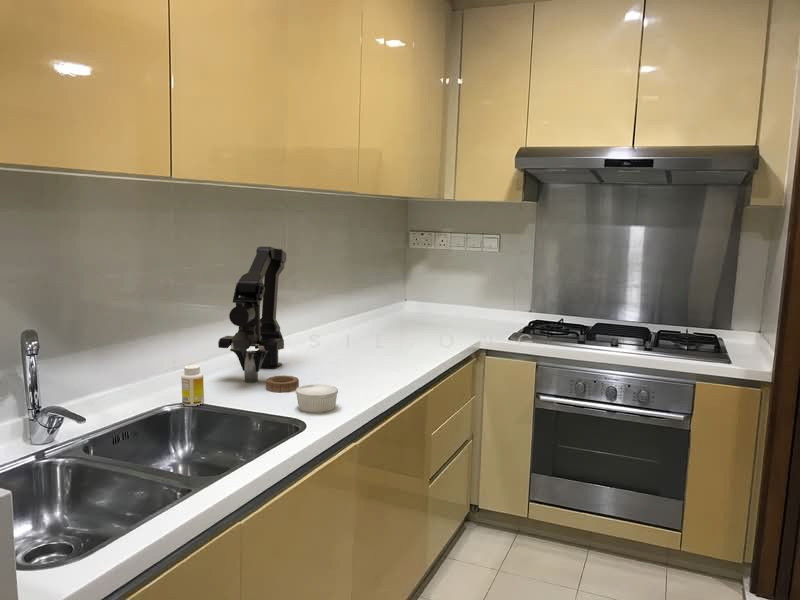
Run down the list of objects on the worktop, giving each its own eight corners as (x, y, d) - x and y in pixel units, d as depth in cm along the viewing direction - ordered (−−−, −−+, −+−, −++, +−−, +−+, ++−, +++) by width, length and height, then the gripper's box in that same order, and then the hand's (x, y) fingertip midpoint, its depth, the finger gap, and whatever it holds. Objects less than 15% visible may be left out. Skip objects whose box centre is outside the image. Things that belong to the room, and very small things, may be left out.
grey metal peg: (247, 378, 203) (247, 350, 202) (260, 379, 202) (259, 351, 201) (242, 382, 199) (241, 352, 198) (254, 383, 198) (254, 353, 197)
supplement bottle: (205, 400, 180) (204, 364, 178) (201, 406, 174) (200, 369, 173) (184, 401, 179) (183, 364, 178) (180, 407, 174) (178, 369, 172)
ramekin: (317, 399, 183) (317, 381, 182) (346, 408, 176) (347, 388, 175) (286, 408, 174) (286, 389, 173) (316, 417, 167) (316, 397, 166)
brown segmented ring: (273, 382, 199) (273, 374, 199) (302, 385, 197) (302, 376, 197) (261, 390, 190) (261, 382, 190) (291, 393, 188) (291, 384, 188)
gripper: (208, 323, 192) (210, 375, 194) (269, 326, 189) (269, 379, 191) (226, 317, 203) (227, 366, 205) (283, 320, 199) (283, 370, 202)
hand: (251, 371), depth 200 cm, fingers closed on grey metal peg, 4 cm apart
